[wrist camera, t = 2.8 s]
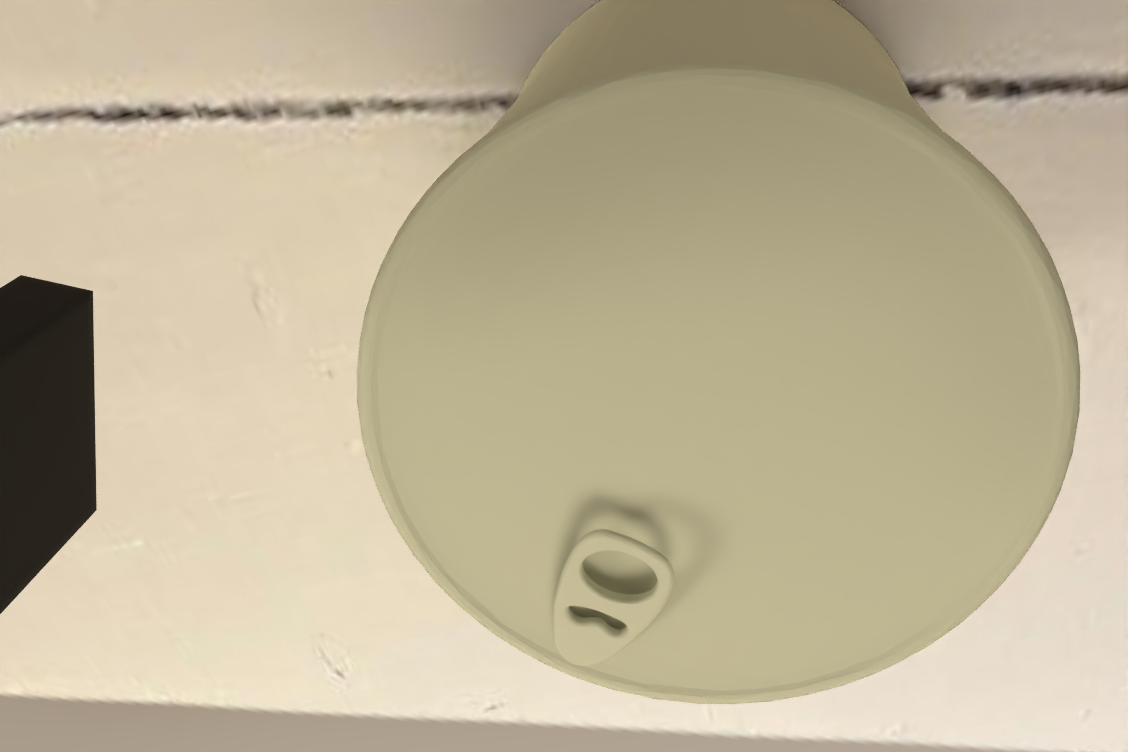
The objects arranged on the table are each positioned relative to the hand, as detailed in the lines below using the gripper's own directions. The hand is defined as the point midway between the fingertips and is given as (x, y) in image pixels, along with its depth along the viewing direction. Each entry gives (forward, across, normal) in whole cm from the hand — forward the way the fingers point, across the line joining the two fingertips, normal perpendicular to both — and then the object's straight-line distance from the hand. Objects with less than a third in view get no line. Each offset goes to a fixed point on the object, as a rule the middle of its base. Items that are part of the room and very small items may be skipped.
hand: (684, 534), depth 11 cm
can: (+14, 0, 0) cm, 14 cm away
